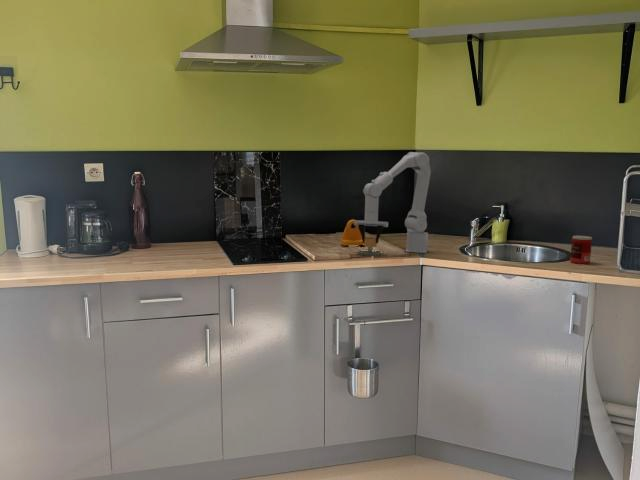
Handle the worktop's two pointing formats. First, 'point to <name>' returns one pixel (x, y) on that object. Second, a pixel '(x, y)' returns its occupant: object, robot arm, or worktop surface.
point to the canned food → (581, 249)
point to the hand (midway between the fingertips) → (370, 242)
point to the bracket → (351, 235)
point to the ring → (370, 242)
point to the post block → (369, 252)
